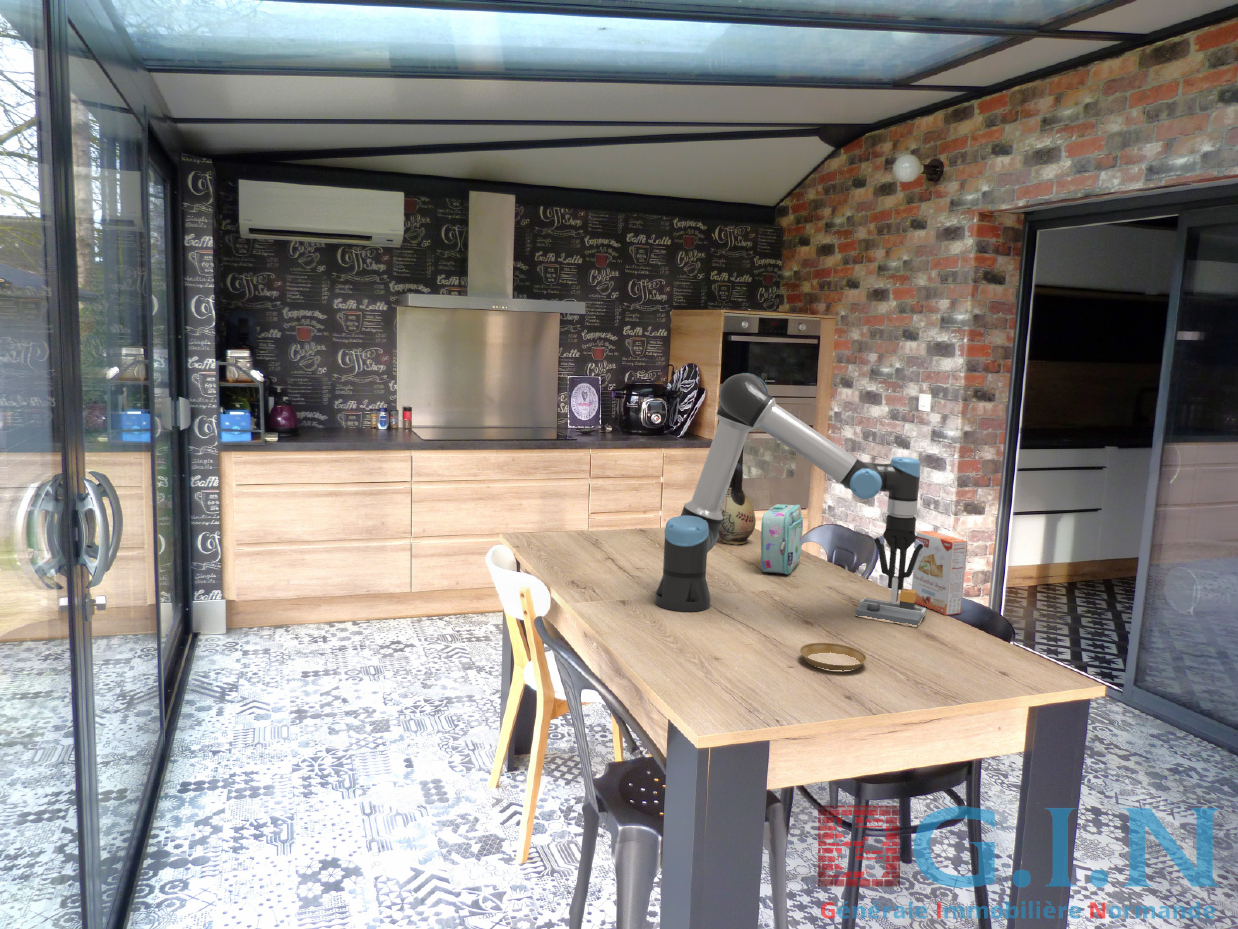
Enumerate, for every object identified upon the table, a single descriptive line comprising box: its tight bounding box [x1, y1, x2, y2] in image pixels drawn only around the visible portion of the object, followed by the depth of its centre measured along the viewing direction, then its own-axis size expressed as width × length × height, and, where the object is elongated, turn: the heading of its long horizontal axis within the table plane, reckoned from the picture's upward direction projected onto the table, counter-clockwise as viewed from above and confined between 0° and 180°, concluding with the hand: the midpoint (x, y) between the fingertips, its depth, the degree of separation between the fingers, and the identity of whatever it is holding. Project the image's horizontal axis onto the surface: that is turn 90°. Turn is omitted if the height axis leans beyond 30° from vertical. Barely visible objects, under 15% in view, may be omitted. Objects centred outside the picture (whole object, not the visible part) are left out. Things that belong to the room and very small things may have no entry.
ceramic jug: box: [718, 462, 756, 546], centre depth 321 cm, size 17×15×30 cm
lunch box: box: [760, 503, 804, 575], centre depth 286 cm, size 27×10×21 cm, turn 160°
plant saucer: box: [799, 642, 868, 671], centre depth 199 cm, size 15×15×3 cm
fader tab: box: [899, 587, 917, 610], centre depth 237 cm, size 3×4×5 cm
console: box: [855, 597, 928, 627], centre depth 238 cm, size 14×17×4 cm
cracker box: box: [911, 530, 968, 616], centre depth 247 cm, size 14×6×21 cm, turn 23°
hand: (894, 600), depth 239 cm, fingers closed
